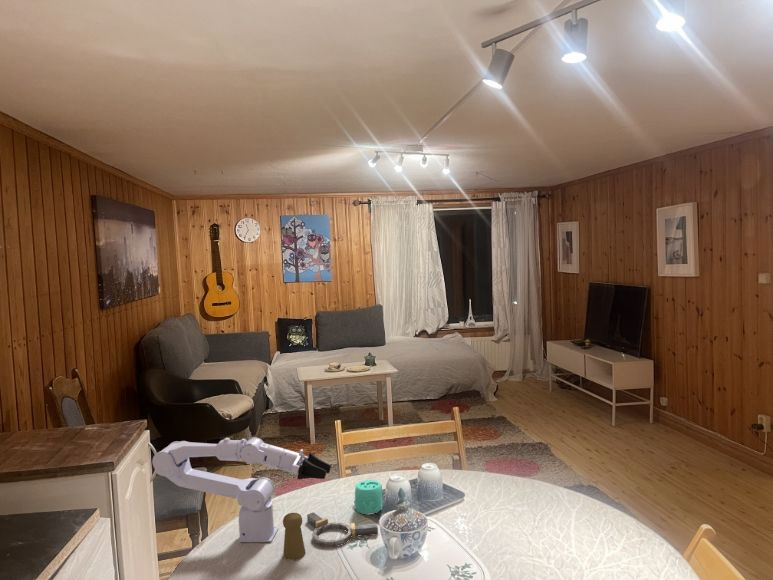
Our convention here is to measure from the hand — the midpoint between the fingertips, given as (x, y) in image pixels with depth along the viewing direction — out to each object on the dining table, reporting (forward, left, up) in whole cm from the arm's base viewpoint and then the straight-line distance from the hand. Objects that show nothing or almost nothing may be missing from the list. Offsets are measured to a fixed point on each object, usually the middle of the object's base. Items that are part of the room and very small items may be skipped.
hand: (327, 472), depth 160 cm
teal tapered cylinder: (+9, +17, -19) cm, 27 cm away
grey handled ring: (+2, +2, -19) cm, 19 cm away
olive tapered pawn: (-9, -9, -19) cm, 23 cm away
